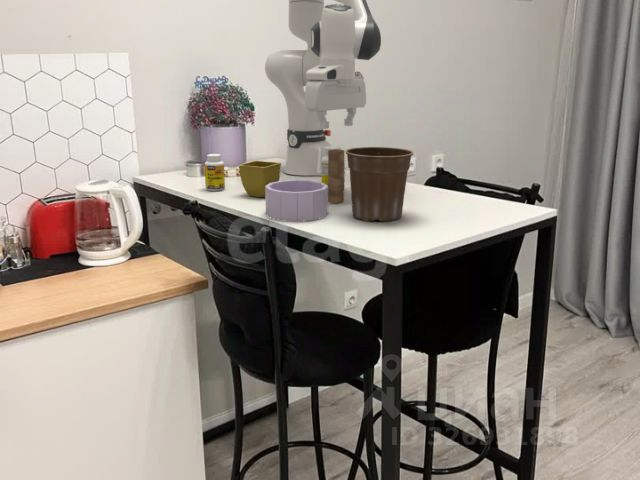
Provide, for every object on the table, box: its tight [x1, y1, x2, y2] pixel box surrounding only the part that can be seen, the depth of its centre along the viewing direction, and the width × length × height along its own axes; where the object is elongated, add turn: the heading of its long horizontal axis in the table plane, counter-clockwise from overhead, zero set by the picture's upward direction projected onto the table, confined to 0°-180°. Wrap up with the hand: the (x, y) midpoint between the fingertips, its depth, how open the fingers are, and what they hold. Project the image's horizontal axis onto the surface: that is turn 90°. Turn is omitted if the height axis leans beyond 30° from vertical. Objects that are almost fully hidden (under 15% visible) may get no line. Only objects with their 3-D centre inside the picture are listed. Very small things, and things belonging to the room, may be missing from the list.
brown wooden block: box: [328, 149, 346, 205], centre depth 171 cm, size 3×3×14 cm
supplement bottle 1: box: [204, 153, 226, 192], centre depth 186 cm, size 6×6×10 cm
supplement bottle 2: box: [320, 146, 346, 188], centre depth 183 cm, size 7×7×13 cm
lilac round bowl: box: [264, 179, 329, 222], centre depth 160 cm, size 15×15×7 cm
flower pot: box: [238, 160, 282, 198], centre depth 180 cm, size 9×9×9 cm
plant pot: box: [344, 146, 414, 222], centre depth 157 cm, size 16×16×16 cm
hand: (336, 127), depth 167 cm, fingers open, 8 cm apart
